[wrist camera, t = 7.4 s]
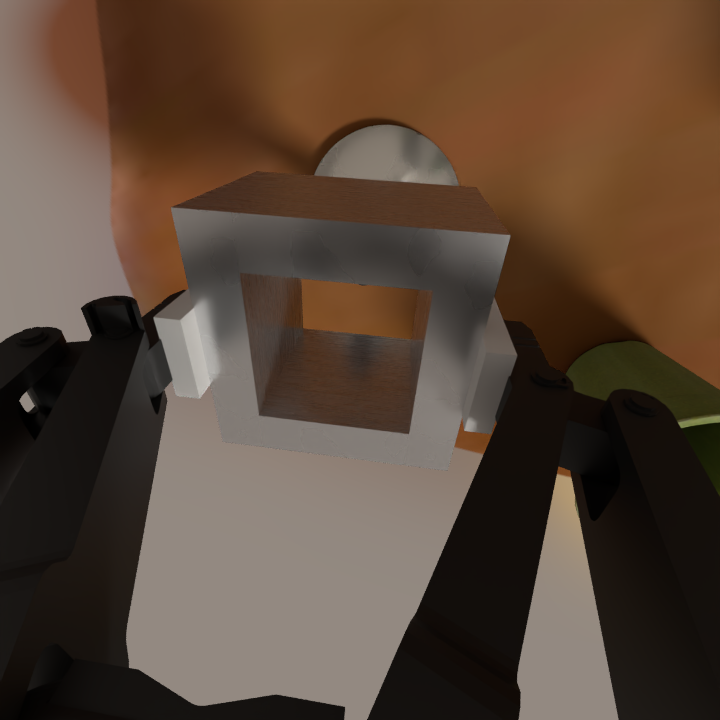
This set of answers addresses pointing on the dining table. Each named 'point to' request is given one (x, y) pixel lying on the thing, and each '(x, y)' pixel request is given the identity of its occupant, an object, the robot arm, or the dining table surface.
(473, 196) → the collar
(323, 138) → the dining table surface
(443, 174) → the post
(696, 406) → the plant pot
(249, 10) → the dining table surface
